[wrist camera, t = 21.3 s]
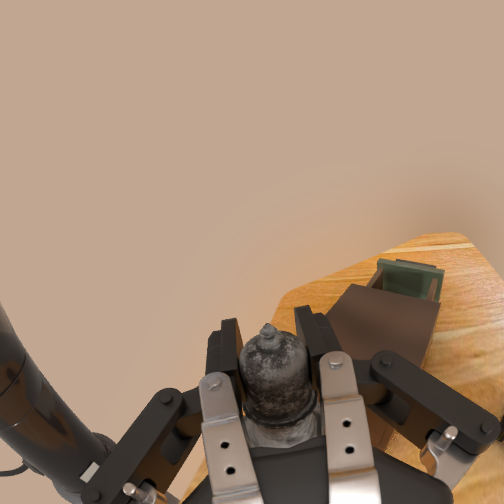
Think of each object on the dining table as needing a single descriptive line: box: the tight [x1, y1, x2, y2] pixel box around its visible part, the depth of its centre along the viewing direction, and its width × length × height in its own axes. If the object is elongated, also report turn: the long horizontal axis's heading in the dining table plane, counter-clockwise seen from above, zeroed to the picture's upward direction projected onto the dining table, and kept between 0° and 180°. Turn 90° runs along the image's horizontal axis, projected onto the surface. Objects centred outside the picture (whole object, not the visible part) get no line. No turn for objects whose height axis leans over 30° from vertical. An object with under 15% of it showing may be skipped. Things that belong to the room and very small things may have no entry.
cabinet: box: [317, 284, 441, 451], centre depth 27 cm, size 15×12×9 cm
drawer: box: [366, 258, 445, 302], centre depth 35 cm, size 18×10×7 cm, turn 139°
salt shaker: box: [239, 323, 322, 448], centre depth 13 cm, size 6×6×12 cm
